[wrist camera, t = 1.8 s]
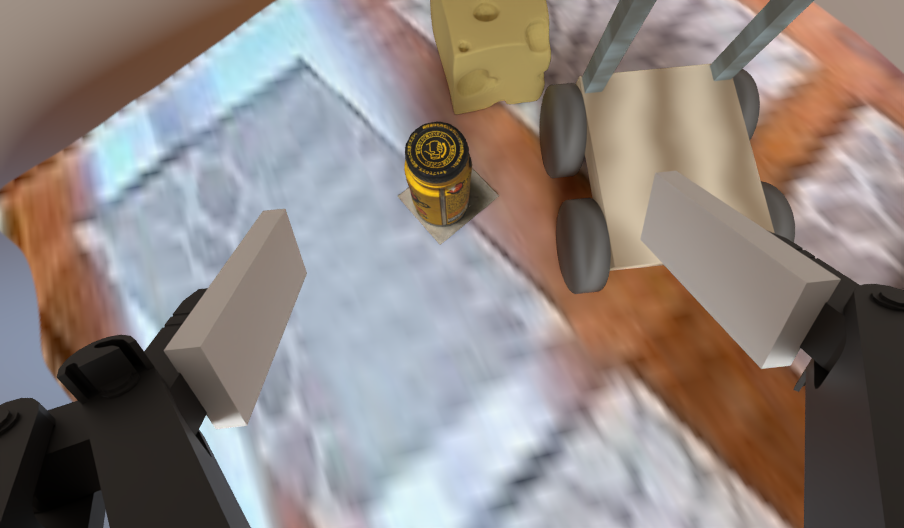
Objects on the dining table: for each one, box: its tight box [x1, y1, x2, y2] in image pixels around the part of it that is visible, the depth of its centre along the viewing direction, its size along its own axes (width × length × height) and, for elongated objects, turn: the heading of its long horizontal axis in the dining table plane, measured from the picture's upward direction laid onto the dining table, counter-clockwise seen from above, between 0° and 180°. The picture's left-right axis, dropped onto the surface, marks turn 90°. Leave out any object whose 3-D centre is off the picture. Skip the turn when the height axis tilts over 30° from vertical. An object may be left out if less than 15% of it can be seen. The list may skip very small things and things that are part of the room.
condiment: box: [398, 122, 499, 245], centre depth 38 cm, size 7×8×12 cm
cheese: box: [430, 0, 551, 114], centre depth 42 cm, size 10×11×10 cm
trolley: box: [540, 0, 814, 294], centre depth 33 cm, size 18×21×23 cm
